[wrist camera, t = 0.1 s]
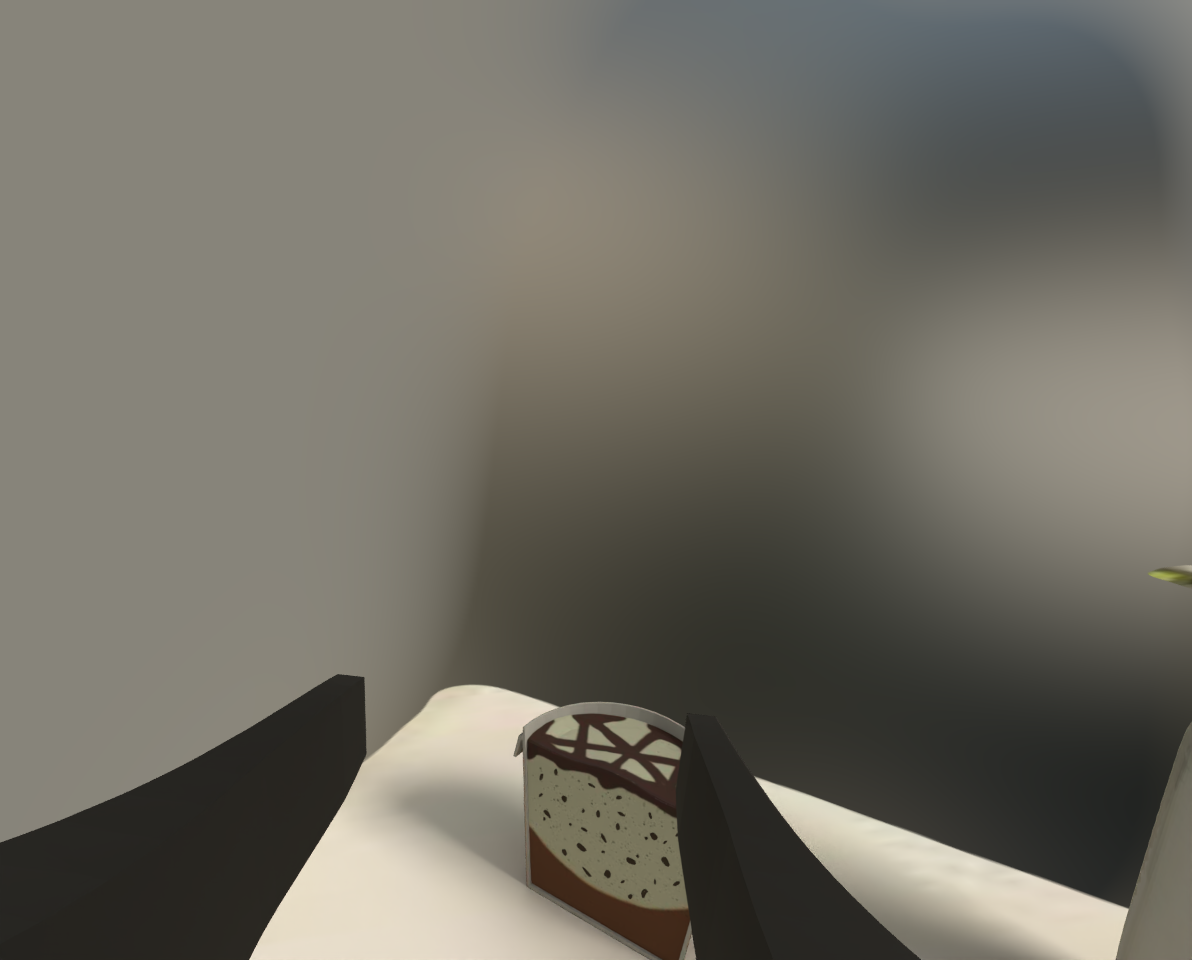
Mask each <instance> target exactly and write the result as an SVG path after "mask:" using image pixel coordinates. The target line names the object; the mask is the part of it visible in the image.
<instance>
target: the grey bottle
mask: <svg viewBox="0 0 1192 960" xmlns="http://www.w3.org/2000/svg"><path fill="white" fill-rule="evenodd" d="M1160 806H1161V807H1160V810H1159V812H1158V815H1157V817H1156V823H1155V825H1154V828H1153V830H1152V835H1151V838H1150V841H1149V843H1148V849H1147V851H1146V854H1145V857H1144V862H1143V864H1142V867H1141V870H1140V875H1139V878H1138V881H1137V885H1136V888H1135V891H1134V894H1133V898H1132V901H1131V904H1130V907H1129V911H1128V914H1127V917H1126V921H1125V924H1124V928H1123V932H1122V936H1121V939H1120V943H1119V947H1118V952H1117V956H1116V960H1192V722H1191V724H1190V725H1189V727H1188V728H1187V730H1186V732H1185V735H1184V737H1183V739H1182V742H1181V745H1180V747H1179V750H1178V753H1177V757H1176V759H1175V762H1174V764H1173V769H1172V772H1171V774H1170V777H1169V782H1168V784H1167V787H1166V790H1165V794H1164V796H1163V799H1162V802H1161V804H1160Z"/></svg>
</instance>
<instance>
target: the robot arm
mask: <svg viewBox="0 0 1192 960" xmlns="http://www.w3.org/2000/svg"><path fill="white" fill-rule="evenodd" d="M365 756H366V721H365V686H364V677H358V676H349V675H339V674H338V675H336V676H334V677H332V678H330V679H328V680H327V681H325V682H323V683H322V684H320V685H318V686H317V687H315V688H313V689H312V690H311V691H309V692H307V693H305V694H304V695H302V696H301V697H299V698H297V699H296V700H294V701H293V702H291V703H289V704H288V705H286V706H285V707H283V708H281V709H280V710H278V711H276V712H275V713H273V714H272V715H270V716H268V717H267V718H265V719H263V720H262V721H260V722H258V723H257V724H255V725H254V726H252V727H251V728H249V729H247V730H245V731H243V732H242V733H240V734H238V735H236V736H235V737H233V738H231V739H229V740H227V741H226V742H224V743H222V744H221V745H219V746H217V747H215V748H214V749H212V750H210V751H208V752H206V753H205V754H203V755H201V756H199V757H198V758H195V759H194V760H192V761H190V762H188V763H186V764H184V765H182V766H180V767H178V768H176V769H174V770H172V771H170V772H168V773H166V774H164V775H162V776H160V777H158V778H156V779H154V780H152V781H150V782H148V783H146V784H143V785H141V786H139V787H137V788H135V789H133V790H131V791H129V792H126V793H124V794H122V795H120V796H117V797H115V798H112V799H110V800H108V801H105V802H103V803H101V804H98V805H96V806H93V807H91V808H89V809H86V810H84V811H81V812H79V813H77V814H74V815H72V816H70V817H67V818H65V819H63V820H60V821H57V822H55V823H52V824H50V825H47V826H44V827H42V828H39V829H37V830H34V831H31V832H29V833H26V834H23V835H20V836H18V837H15V838H12V839H9V840H6V841H4V842H1V843H0V960H249V959H250V957H251V955H252V953H253V951H254V949H255V947H256V945H257V943H258V941H259V939H260V937H261V936H262V934H263V932H264V930H265V928H266V927H267V925H268V923H269V922H270V920H271V918H272V916H273V915H274V913H275V911H276V910H277V908H278V906H279V905H280V903H281V901H282V900H283V898H284V897H285V895H286V893H287V892H288V890H289V889H290V887H291V885H292V884H293V882H294V881H295V879H296V878H297V876H298V874H299V873H300V871H301V870H302V868H303V866H304V865H305V863H306V862H307V860H308V858H309V857H310V855H311V854H312V852H313V850H314V849H315V847H316V846H317V844H318V843H319V841H320V839H321V838H322V836H323V835H324V833H325V831H326V830H327V828H328V826H329V825H330V823H331V822H332V820H333V818H334V817H335V815H336V813H337V812H338V810H339V809H340V807H341V805H342V804H343V802H344V800H345V798H346V796H347V794H348V792H349V790H350V788H351V786H352V784H353V782H354V780H355V778H356V776H357V773H358V771H359V769H360V767H361V765H362V762H363V760H364V758H365ZM676 812H677V831H678V843H679V850H680V857H681V864H682V870H683V877H684V883H685V890H686V896H687V903H688V909H689V916H690V922H691V929H692V935H693V941H694V948H695V954H696V960H921V959H920V958H919V957H917V956H916V955H915V954H914V953H913V952H912V951H910V950H909V949H908V948H907V947H906V946H905V945H903V944H902V943H901V942H900V941H899V940H898V939H897V938H896V937H895V936H894V935H892V934H891V933H890V932H889V931H888V930H887V929H886V928H885V927H884V926H883V925H881V924H880V923H879V922H878V921H877V920H876V919H875V918H874V917H873V916H872V915H871V914H870V913H869V912H868V911H867V910H866V909H865V908H864V907H863V906H862V905H861V904H860V903H859V902H858V901H857V900H856V899H855V898H854V897H853V896H852V895H851V894H850V893H849V892H848V891H847V890H846V889H845V888H844V887H843V886H842V885H841V884H840V883H839V882H838V881H837V880H836V879H835V878H834V877H833V876H832V875H831V873H830V872H829V871H828V870H827V869H826V868H825V867H824V866H823V865H822V863H821V862H820V861H819V860H818V859H817V858H816V857H815V856H814V855H813V853H812V852H811V851H810V850H809V849H808V848H807V846H806V845H805V844H804V843H803V842H802V840H801V839H800V838H799V837H798V835H797V834H796V833H795V832H794V830H793V829H792V828H791V827H790V825H789V824H788V823H787V821H786V820H785V819H784V818H783V816H782V815H781V814H780V812H779V811H778V810H777V808H776V807H775V806H774V804H773V803H772V802H771V800H770V799H769V797H768V796H767V795H766V793H765V792H764V790H763V789H762V787H761V786H760V785H759V783H758V782H757V780H756V779H755V777H754V776H753V774H752V773H751V771H750V770H749V769H748V767H747V765H746V764H745V762H744V761H743V759H742V758H741V756H740V755H739V753H738V751H737V750H736V748H735V747H734V745H733V743H732V742H731V740H730V739H729V737H728V735H727V734H726V732H725V730H724V729H723V727H722V725H721V724H720V722H719V721H718V719H717V718H716V717H715V716H707V715H699V714H690V713H687V718H686V724H685V731H684V738H683V744H682V751H681V757H680V764H679V771H678V777H677V784H676Z"/></svg>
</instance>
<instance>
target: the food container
mask: <svg viewBox="0 0 1192 960" xmlns="http://www.w3.org/2000/svg"><path fill="white" fill-rule="evenodd" d="M684 731H685V727H683V726H682V725H680V724H678V723H677V722H675V721H672V720H671V719H669V718H667V717H665V716H662V715H660V714H658V713H656V712H653V711H650V710H647V709H643V708H641V707H636V706H632V705H627V704H620V703H612V702H588V703H578V704H572V705H567V706H564V707H560V708H556V709H554V710H551V711H549V712H546V713H544V714H542V715H540V716H539V717H537V718H535V719H533V720H532V721H530V722H529V723H528V724H526V725H525V726H524V727H523V733H521V734H520V735H519V737H518V741H517V744H516V748H515V752H514V756H515V757H516V756H518V755H519V754H520V753H521V752H523V775H524V810H525V845H526V880H527V887H528V888H530V889H532V890H534V891H535V892H537V893H539V894H540V895H542V896H544V897H545V898H547V899H549V900H550V901H552V902H554V903H556V904H557V905H559V906H561V907H562V908H564V909H566V910H567V911H569V912H571V913H572V914H574V915H576V916H578V917H579V918H581V919H583V920H584V921H586V922H588V923H589V924H591V925H593V926H594V927H596V928H598V929H600V930H601V931H603V932H605V933H606V934H608V935H610V936H611V937H613V938H615V939H616V940H618V941H620V942H622V943H623V944H625V945H627V946H628V947H630V948H632V949H633V950H635V951H637V952H638V953H640V954H642V955H643V956H645V957H647V958H649V959H650V960H684V958H685V954H686V951H687V947H688V944H689V940H690V937H691V933H692V929H691V922H690V916H689V909H688V903H687V896H686V890H685V883H684V877H683V870H682V864H681V857H680V850H679V843H678V831H677V812H676V784H677V777H678V771H679V764H680V757H681V751H682V744H683V738H684Z"/></svg>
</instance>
